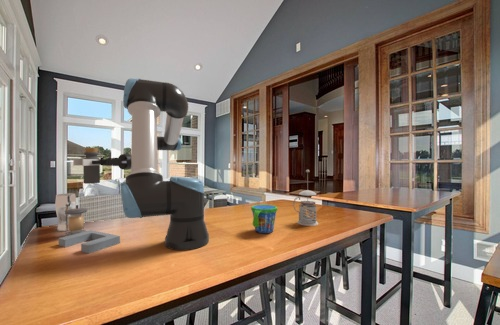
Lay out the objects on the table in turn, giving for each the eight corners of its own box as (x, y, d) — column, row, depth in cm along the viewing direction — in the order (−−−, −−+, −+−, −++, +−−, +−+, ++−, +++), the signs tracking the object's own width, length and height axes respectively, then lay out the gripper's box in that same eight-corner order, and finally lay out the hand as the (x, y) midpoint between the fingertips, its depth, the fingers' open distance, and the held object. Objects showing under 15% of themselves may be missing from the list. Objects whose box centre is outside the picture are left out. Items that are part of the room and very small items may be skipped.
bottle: (91, 183, 97) (91, 147, 97) (80, 183, 99) (79, 148, 98) (103, 182, 103) (102, 148, 103) (92, 182, 104) (91, 148, 104)
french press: (321, 225, 104) (321, 170, 104) (295, 225, 104) (295, 170, 104) (315, 220, 114) (315, 169, 114) (291, 220, 114) (291, 169, 114)
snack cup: (263, 224, 106) (263, 202, 106) (284, 228, 100) (284, 205, 100) (242, 233, 93) (242, 208, 93) (264, 238, 87) (264, 211, 87)
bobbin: (91, 234, 93) (90, 209, 93) (71, 239, 87) (71, 212, 87) (80, 231, 96) (80, 207, 96) (60, 236, 90) (60, 210, 90)
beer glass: (51, 230, 98) (51, 195, 98) (69, 226, 104) (69, 192, 104) (62, 232, 95) (61, 195, 95) (79, 228, 101) (79, 193, 101)
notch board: (119, 242, 83) (119, 235, 83) (88, 253, 73) (88, 245, 73) (90, 236, 90) (90, 230, 90) (58, 245, 80) (58, 238, 80)
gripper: (142, 169, 113) (91, 172, 92) (117, 168, 121) (65, 170, 100) (142, 154, 113) (91, 153, 92) (117, 154, 121) (65, 153, 100)
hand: (78, 162), depth 96 cm, fingers closed on bottle, 6 cm apart
